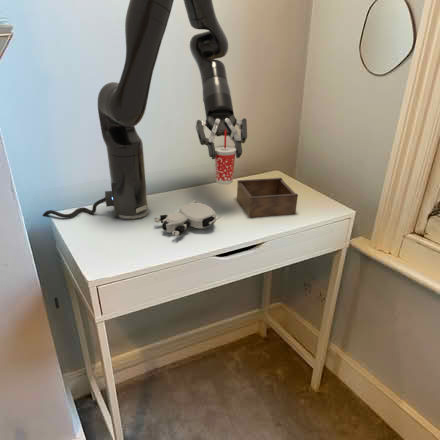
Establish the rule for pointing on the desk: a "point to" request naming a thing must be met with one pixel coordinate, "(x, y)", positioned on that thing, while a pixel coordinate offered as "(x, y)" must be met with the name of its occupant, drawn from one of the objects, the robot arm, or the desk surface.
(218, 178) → the beverage cup
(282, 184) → the crate
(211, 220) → the robot toy
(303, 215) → the desk surface
